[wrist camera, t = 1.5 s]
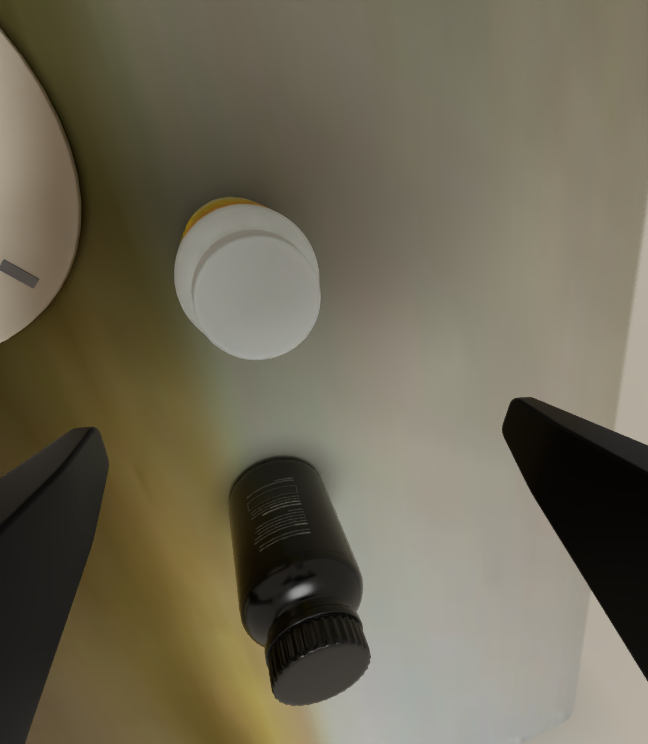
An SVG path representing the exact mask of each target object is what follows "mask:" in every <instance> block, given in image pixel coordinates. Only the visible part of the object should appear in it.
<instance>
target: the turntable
mask: <svg viewBox="0 0 648 744" xmlns="http://www.w3.org/2000/svg"><path fill="white" fill-rule="evenodd" d="M80 231H81V195H80V188H79V180H78V174H77V170H76V166H75V163H74V159H73V155H72V151H71V148H70V145H69V142H68V140H67V137H66V135H65V132H64V129H63V127H62V124H61V122H60V119H59V117H58V115H57V113H56V111H55V109H54V107H53V106H52V104H51V102H50V100H49V98H48V96H47V94H46V92H45V90H44V88H43V87H42V85H41V84H40V82H39V80H38V79H37V77H36V76H35V74H34V73H33V71H32V70H31V68H30V67H29V65H28V63H27V62H26V60H25V59H24V57H23V56H22V55H21V53H20V52H19V51H18V50H17V48H16V47H15V46H14V45H13V43H12V42H11V41H10V39H9V38H8V37H7V36H6V34H5V33H4V32H3V31H2V29H1V28H0V343H1V342H3V341H5V340H7V339H9V338H10V337H12V336H13V335H15V334H16V333H17V332H19V331H20V330H22V329H23V328H25V327H26V326H27V325H28V324H30V323H31V322H32V321H33V320H34V319H35V318H36V317H37V316H38V315H39V314H40V313H41V312H42V311H43V310H44V309H46V308H47V307H48V306H49V304H50V303H51V302H52V300H53V299H54V298H55V296H56V295H57V294H58V292H59V291H60V290H61V288H62V286H63V284H64V282H65V280H66V279H67V277H68V275H69V273H70V271H71V268H72V265H73V262H74V259H75V256H76V253H77V250H78V244H79V237H80Z"/></svg>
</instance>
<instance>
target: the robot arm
mask: <svg viewBox="0 0 648 744" xmlns="http://www.w3.org/2000/svg"><path fill="white" fill-rule="evenodd" d="M502 433H503V436H504V438H505V440H506V443H507V445H508V447H509V449H510V451H511V453H512V455H513V457H514V459H515V461H516V463H517V465H518V467H519V469H520V471H521V473H522V475H523V477H524V479H525V481H526V483H527V485H528V487H529V489H530V491H531V493H532V495H533V496H534V498H535V500H536V501H537V503H538V505H539V506H540V508H541V509H542V511H543V513H544V514H545V516H546V518H547V519H548V521H549V522H550V524H551V526H552V527H553V529H554V530H555V532H556V534H557V535H558V537H559V539H560V540H561V542H562V543H563V545H564V547H565V548H566V550H567V551H568V553H569V555H570V556H571V558H572V560H573V561H574V563H575V564H576V566H577V568H578V569H579V571H580V573H581V574H582V576H583V577H584V579H585V581H586V582H587V584H588V585H589V587H590V589H591V590H592V592H593V594H594V595H595V597H596V598H597V600H598V602H599V603H600V605H601V606H602V608H603V610H604V611H605V613H606V615H607V616H608V618H609V619H610V621H611V623H612V624H613V626H614V628H615V629H616V631H617V632H618V634H619V636H620V637H621V639H622V640H623V642H624V643H625V645H626V647H627V649H628V650H629V652H630V653H631V655H632V657H633V658H634V660H635V661H636V663H637V665H638V666H639V668H640V670H641V671H642V673H643V675H644V676H645V677H646V679H647V681H648V445H645V444H643V443H641V442H638V441H636V440H633V439H631V438H629V437H626V436H624V435H621V434H619V433H617V432H614V431H612V430H609V429H607V428H605V427H602V426H600V425H597V424H595V423H593V422H590V421H588V420H585V419H583V418H581V417H578V416H576V415H573V414H571V413H569V412H566V411H564V410H561V409H559V408H556V407H554V406H552V405H549V404H547V403H544V402H542V401H540V400H537V399H535V398H532V397H521V398H515V399H513V400H512V401H511V402H510V404H509V407H508V410H507V413H506V416H505V419H504V422H503V426H502ZM108 469H109V461H108V456H107V453H106V450H105V446H104V443H103V440H102V437H101V434H100V431H99V430H98V429H97V428H95V427H83V428H74V429H72V430H70V431H69V432H67V433H66V434H64V435H63V436H61V437H60V438H58V439H57V440H55V441H54V442H53V443H51V444H50V445H48V446H47V447H45V448H44V449H42V450H41V451H39V452H38V453H36V454H35V455H33V456H32V457H30V458H29V459H28V460H26V461H25V462H23V463H22V464H20V465H19V466H17V467H16V468H14V469H13V470H11V471H10V472H8V473H7V474H5V475H4V476H3V477H1V478H0V744H25V742H26V739H27V736H28V733H29V730H30V727H31V724H32V721H33V718H34V715H35V713H36V710H37V707H38V704H39V701H40V698H41V695H42V692H43V689H44V686H45V683H46V680H47V677H48V674H49V671H50V668H51V665H52V662H53V659H54V656H55V653H56V650H57V647H58V644H59V641H60V638H61V636H62V633H63V630H64V627H65V624H66V621H67V618H68V615H69V612H70V609H71V606H72V603H73V600H74V597H75V594H76V591H77V588H78V585H79V582H80V579H81V576H82V573H83V570H84V567H85V564H86V562H87V559H88V556H89V553H90V549H91V546H92V543H93V539H94V535H95V531H96V527H97V522H98V517H99V512H100V508H101V503H102V498H103V493H104V488H105V484H106V479H107V474H108Z"/></svg>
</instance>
